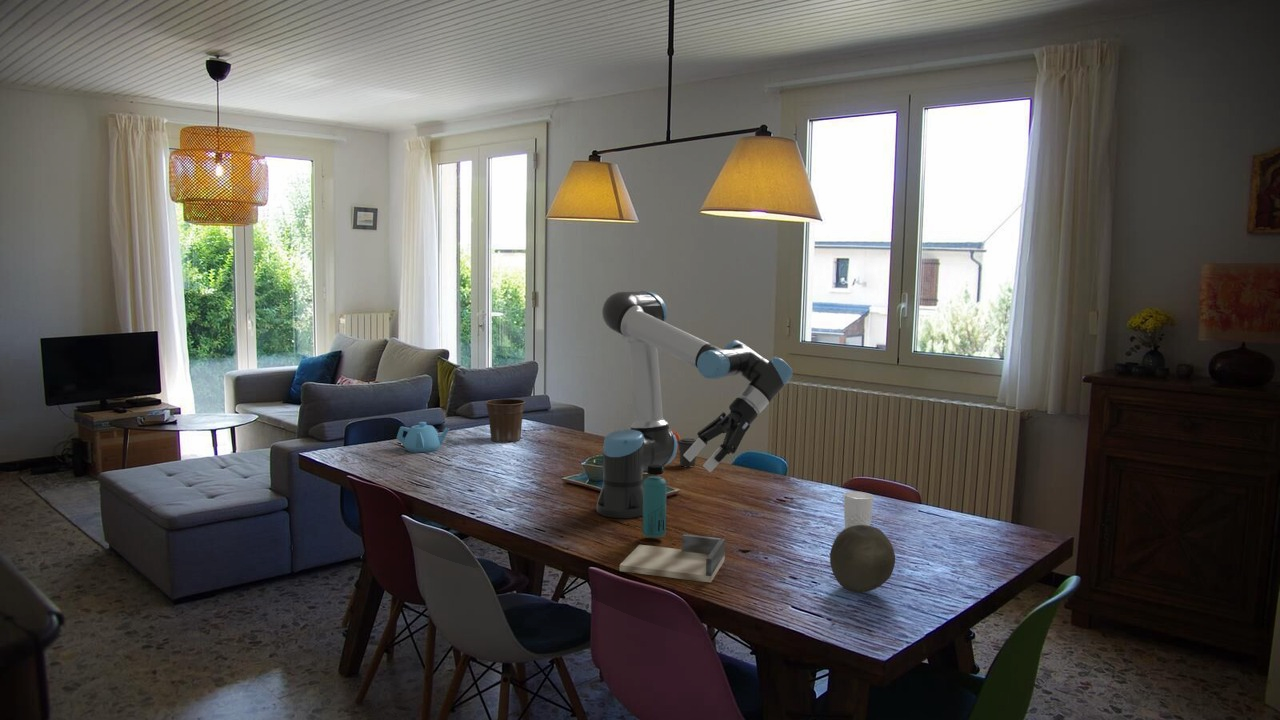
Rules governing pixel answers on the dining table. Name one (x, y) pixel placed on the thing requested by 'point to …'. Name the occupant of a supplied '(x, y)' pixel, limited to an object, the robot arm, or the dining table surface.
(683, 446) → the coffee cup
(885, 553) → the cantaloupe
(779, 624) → the dining table surface
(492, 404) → the plant pot
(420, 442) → the teapot
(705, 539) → the corner board
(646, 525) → the beverage bottle
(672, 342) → the robot arm
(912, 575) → the dining table surface
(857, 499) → the white cup
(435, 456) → the dining table surface
